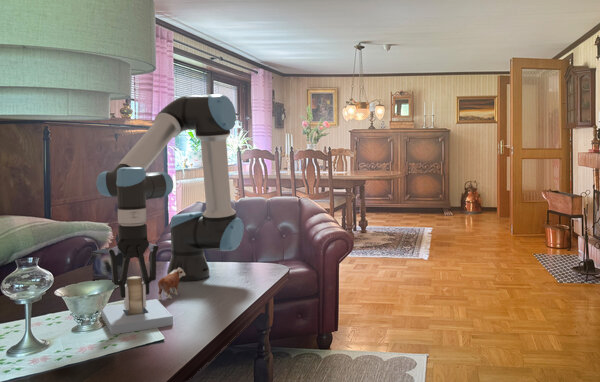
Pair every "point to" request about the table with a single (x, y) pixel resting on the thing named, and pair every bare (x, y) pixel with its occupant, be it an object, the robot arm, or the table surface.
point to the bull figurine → (170, 282)
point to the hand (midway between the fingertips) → (135, 307)
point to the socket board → (136, 318)
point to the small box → (105, 264)
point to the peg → (135, 295)
